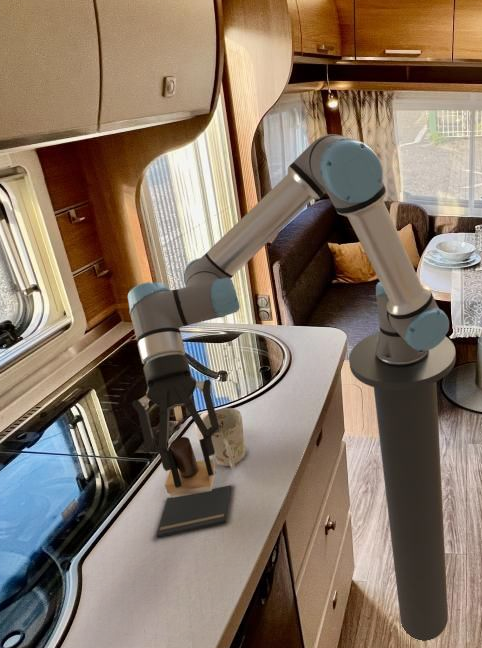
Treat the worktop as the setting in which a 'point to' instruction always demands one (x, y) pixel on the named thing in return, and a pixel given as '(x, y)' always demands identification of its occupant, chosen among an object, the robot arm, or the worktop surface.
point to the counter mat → (194, 511)
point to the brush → (188, 471)
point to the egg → (198, 428)
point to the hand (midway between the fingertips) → (195, 480)
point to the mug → (228, 437)
